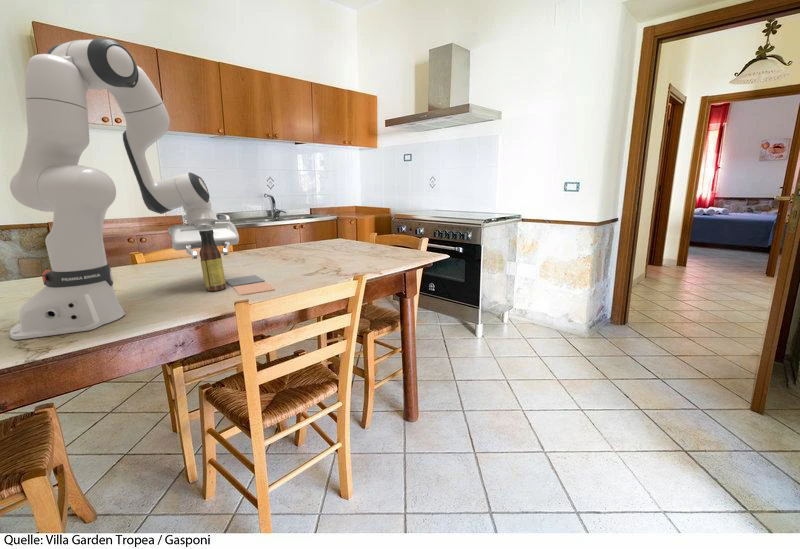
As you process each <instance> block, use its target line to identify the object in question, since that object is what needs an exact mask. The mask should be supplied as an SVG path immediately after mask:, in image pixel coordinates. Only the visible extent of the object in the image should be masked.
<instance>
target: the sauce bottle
mask: <svg viewBox="0 0 800 549" xmlns="http://www.w3.org/2000/svg"><path fill="white" fill-rule="evenodd" d="M199 234H200V236H201V241H202V242H201V243H202V247H201V248H199V249H200V250H199V256H200V257H199V258H200V265H201V271H202V272H201V273H202V276H203V281H204V286H205V289H206V291H207V292H219V291H222V290H224V289H226V287H227V286H226V284H227V282H225V279H226V278H225V277H226V276H225V272H224V271H225V270H224V266H223V259H222V254H221V252H220V251H219V249H218V246H216V244H215V241H214V236H213V234H214V232H213V230H212V229H206V230H200V231H199Z"/></svg>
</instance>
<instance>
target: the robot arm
mask: <svg viewBox="0 0 800 549" xmlns="http://www.w3.org/2000/svg"><path fill="white" fill-rule="evenodd" d="M24 88H25V89H24V90H25V91H24V94H25V96H24V97H25V109H26V112H25V113H26V122H27V123H26V128H27V136H26V137H27V138H26V144H25V150H24V153H23V157H22V161H21V163H20V165H19V166H20V167H19V169H18V170H17V172H16V173H15V174H14V175H13V176H12V178H11V179H10V181H9V183H10V184H9V189H10V192H11V195H12V197H13V198H14V200H16V201H17V202H18V204H19V203H20V204H21V205H23V206H24V207H27V208H31V209H33V210H36V211H41V212H45V213H46V212H47V213H53V218H52V219H53V221H52V226H51V230H50V231H49V233H48V234H47V235H46V236H45V237H46V238H45V239H44V240H45V246H46V250H47V256H48V259H49V263H50V268H51V269H45V270H44V271H43V272H42V275H41V276H42V282H43V285H44V286H45V287H43V288H42V289H41V290H39V291H38V292H37V293H35V294H34V295H33V296H32V297H31V298H29V300H27V301H26V302H25V303H24V304H23V305H22V307H21V309H20V314H19V323H17V324H15V325H14V326H12V328H10V331H9V338H10V339H12V340H14V341H17V340H25V339H27V340H28V339H32V338H43V337H48V336H56V335H63V334H70V333H80V332H86V331H93V330H95V329H97V328H99V327H101V326H103V325H106V324H110V323H112V322H115V321H117V320H119V319H121V318H122V317H124V315H125V314H126V313H125V311H124V309H123V307H122V305H121V304H120V302H119V299H118V297H117V294H116V291H115V288H114V286H113V285H114V278H113V271H112V268H111V266H110V264H109V263H108V260H107V255H106V248H105V244H104V238H103V236H104V235H103V233H104V232H103V231H104V221H105V217H106V213H107V211H108V209H109V208H110V207H111V205H112V204H113V203H114V202H115V199H116V198H117V189H116V188H117V187H116V185H115V182H114V180H113V178H111V177H110V175H109V174H107V173H106V172H104V171H103V170H101V169H98V168H93V167H89V166H85V165H79V161H80V158H81V156H82V154H83V152H84V151H85V150H86V149H87V148H88V147H89V144H90V140H91V139H90V128H89V126H90V125H89V113H88V112H89V111H88V102H87V92H88V90H99V91H102V90H106V91H108V93H110V94H111V95H112V97H113V98H114V99H115V101H116V104H117V105H118V107H119V110H120V111H121V113H122V115H123V117H124V119H125V124H126V125H125V130H124V132H123V133H122V142H123V145H124V148H125V153H126V155H127V157H128V160H129V163H130V166H131V169H132V171H133V173H134V176H135V178H136V181H137V184H138V187H139V190H140V194H141V197H142V198H141V199H142V201H143V203H144V205H145V207H146V209H147V210H149V211H151V212H152V213H156V214H160V215H163V214H166V213H168V212H171V211H173V210H175V209H178V208H182V209H183V211H184V213H185V220H186V223H183V224H172V226H169V227H168V229H167V232H168V235H169V236H170V237H171V245H172V249H173V250H175V251H184V250H185V252H186V253H187V254H189V256H190V257H191V259H192V260H196V259H198V254H197V251H194V249H195V250H196V249H201V247H202V243H201V242H202V241H201V236H200V234H199V231H200V230H206V229H212V230H213V232H214V234H213V236H214V241H215V244H216V246H217V247H224V248H222V254H223V256H228V255H229V249H230V246H234V245H235V246H237V245H238V244H239V241H240V235H239V233H238V229H237V228H236V226H235V224H234V223H233V222H231V218H230V215H227V214H222V213H218V212H214V211H213V210H212V203H211V200H210V198H211V197H210V193H209V189H208V187H207V185H206V183H205V180H203V178H202V177H201V176H199V175H197V174H195V173H193V172H191V171H190V172H184V173H181V174H177V175H174V176H171V177H168V178H167V177H166V178H163V179H161V180H156V179H154V178H153V175H152V172H151V169H150V166H149V164H148V161H147V158H146V152H147V150H148V148H150V147H151V146H152V145H154V144H155V143H156V142H157V141H159V140H160V139H161V138H162V137H164V136H165V134H166V132H167V131H168V130H169V128H170V122H171V119H170V115H169V112H168V110H167V108H166V106H165V103H164V102H163V99H162V98H161V95H160V94H159V91H158V90H157V89H156V87H155V86H154V84H153V82H152V81H151V79H150V77H148V75H147V73H146V72H145V71H144V70H143V68H142V67H140V66H139V65H137V64H136V61H135V59H134V58H133V56H132V55H131V52H129V51H128V49H127V48H126V47H125V46H124V45H122V44H121V43H120V42H118V41H116V40H113V39H110V38H101V37H97V38H94V39H75V40H71V41H68V42H64V43H58V44H56V45H53V46H52V47H51V48H50V49H49V50H47V52H46V53H40V54H35V55H33V56H32V57H30V58H29V60H28V62H27V68H26V72H25V84H24Z"/></svg>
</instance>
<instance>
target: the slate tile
mask: <svg viewBox="0 0 800 549" xmlns="http://www.w3.org/2000/svg"><path fill="white" fill-rule="evenodd" d="M225 282H226V284H228V285H229V286H230V285H231V286H230V287H232V288H233V287H234V286H241V285H248V284H256V283H263V282H266V281H265V279H263V278H261V277H260V276H258V275H256V274H252V275H246V276H238V277H232V278H225Z"/></svg>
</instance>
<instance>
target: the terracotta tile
mask: <svg viewBox="0 0 800 549" xmlns="http://www.w3.org/2000/svg"><path fill="white" fill-rule="evenodd" d="M232 288H233V290H234V291H235V292H236V293H237V294H238V295H243V296H249V295H255V294H261V293H262V294H263V293H266V292H274V291H276V289H275V288H274V286H272V284H270V283H269V282H268V281H265V282H260V283H254V284H248V285H241V286H234V287H232Z"/></svg>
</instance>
